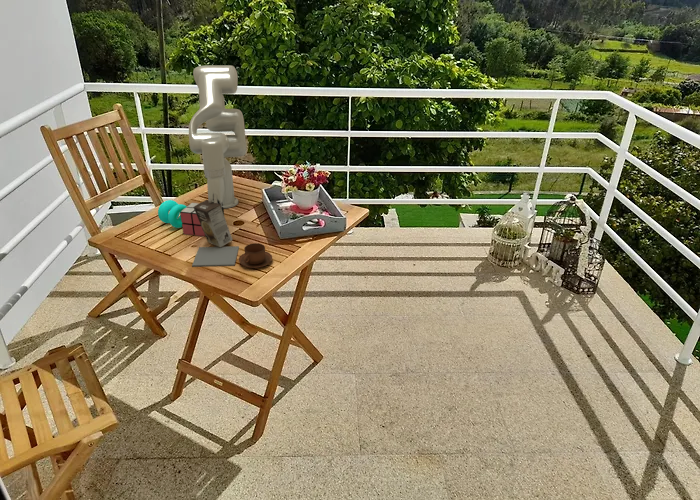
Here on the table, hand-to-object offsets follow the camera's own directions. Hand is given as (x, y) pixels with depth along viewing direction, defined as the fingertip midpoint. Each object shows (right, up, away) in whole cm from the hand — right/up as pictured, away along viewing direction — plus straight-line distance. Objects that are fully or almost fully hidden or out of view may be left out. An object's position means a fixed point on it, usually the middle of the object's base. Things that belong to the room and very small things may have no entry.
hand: (219, 216), depth 195 cm
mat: (+1, -15, -9) cm, 18 cm away
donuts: (-22, -3, +15) cm, 27 cm away
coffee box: (0, -10, 0) cm, 10 cm away
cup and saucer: (+16, -18, -12) cm, 27 cm away
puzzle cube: (-11, -5, +10) cm, 16 cm away
